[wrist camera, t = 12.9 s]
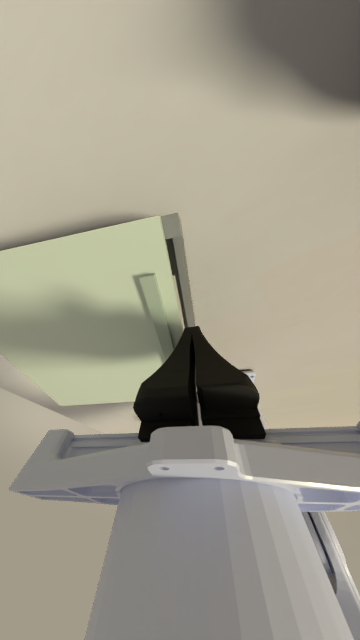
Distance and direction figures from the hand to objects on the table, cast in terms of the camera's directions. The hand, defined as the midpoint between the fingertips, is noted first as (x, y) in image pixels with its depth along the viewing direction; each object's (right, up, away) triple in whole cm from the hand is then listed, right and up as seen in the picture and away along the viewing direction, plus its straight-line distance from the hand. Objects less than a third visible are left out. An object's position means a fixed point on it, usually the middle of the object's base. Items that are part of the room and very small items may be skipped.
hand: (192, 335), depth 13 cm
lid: (-10, -1, +1) cm, 10 cm away
